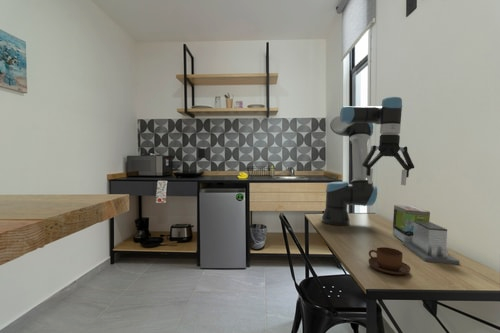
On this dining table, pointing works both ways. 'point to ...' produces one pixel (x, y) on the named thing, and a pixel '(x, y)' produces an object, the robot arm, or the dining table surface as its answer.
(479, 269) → the dining table surface
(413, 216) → the tea box
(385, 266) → the cup and saucer
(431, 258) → the pin tray
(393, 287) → the dining table surface
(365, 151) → the robot arm
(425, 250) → the block
